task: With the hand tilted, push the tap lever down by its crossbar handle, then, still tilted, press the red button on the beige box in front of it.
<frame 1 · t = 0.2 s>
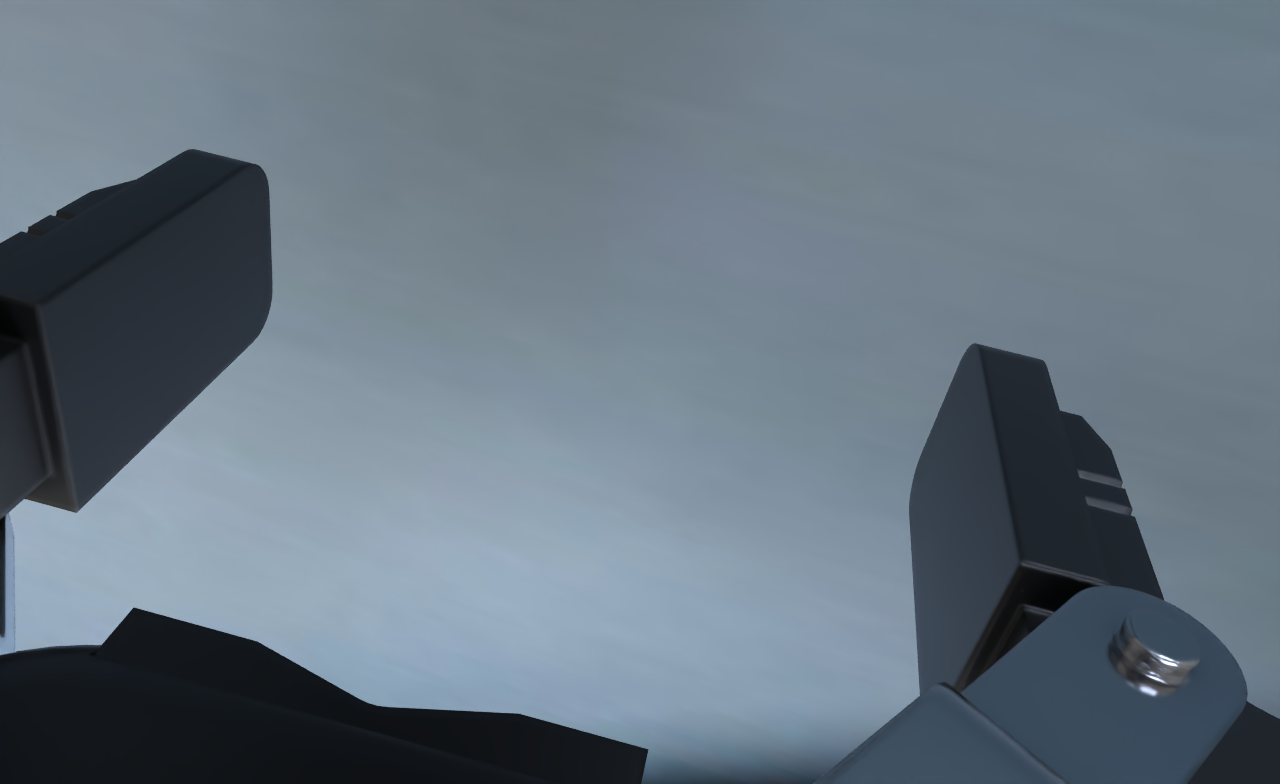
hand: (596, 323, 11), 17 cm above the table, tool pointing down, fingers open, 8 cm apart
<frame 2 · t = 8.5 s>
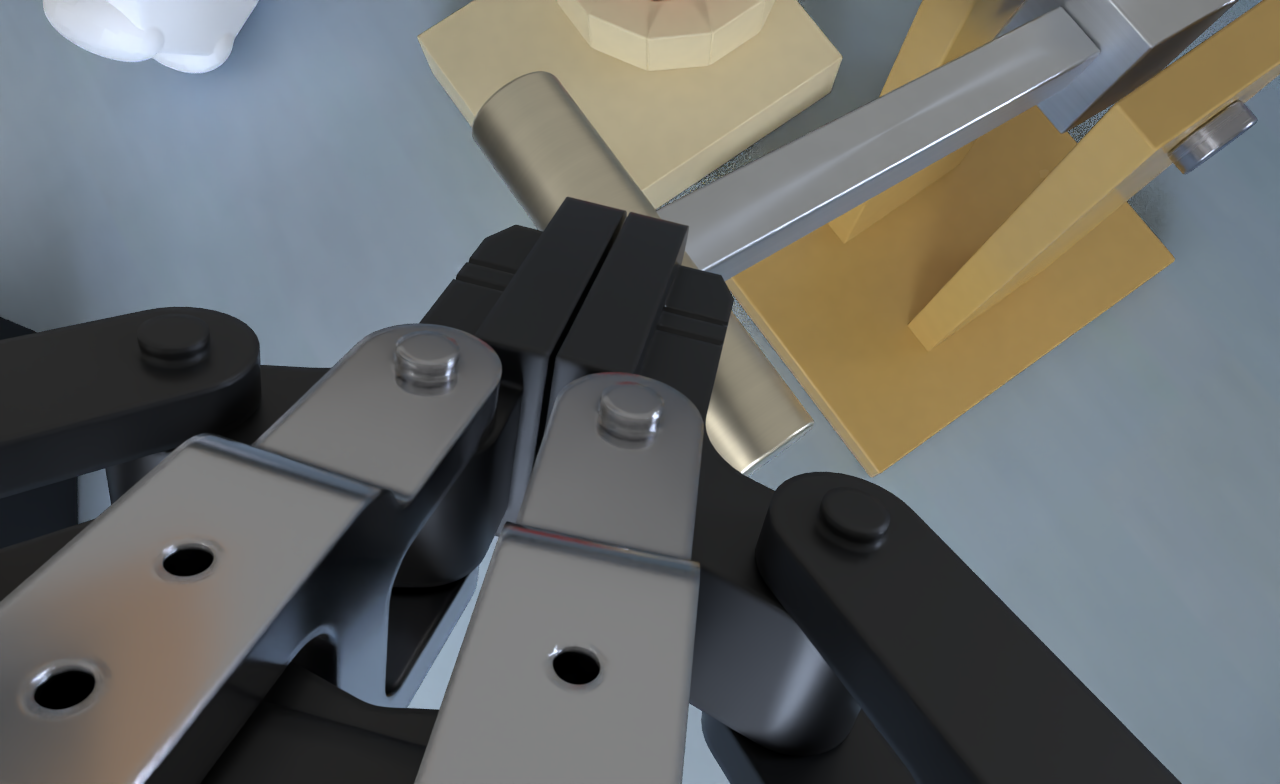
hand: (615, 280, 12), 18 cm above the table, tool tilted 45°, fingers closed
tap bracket: (923, 256, 31), on the table
tap lever: (922, 122, 16), point 15 cm above the table, hinge at 20.0°, touching gripper
button box: (630, 82, 32), on the table
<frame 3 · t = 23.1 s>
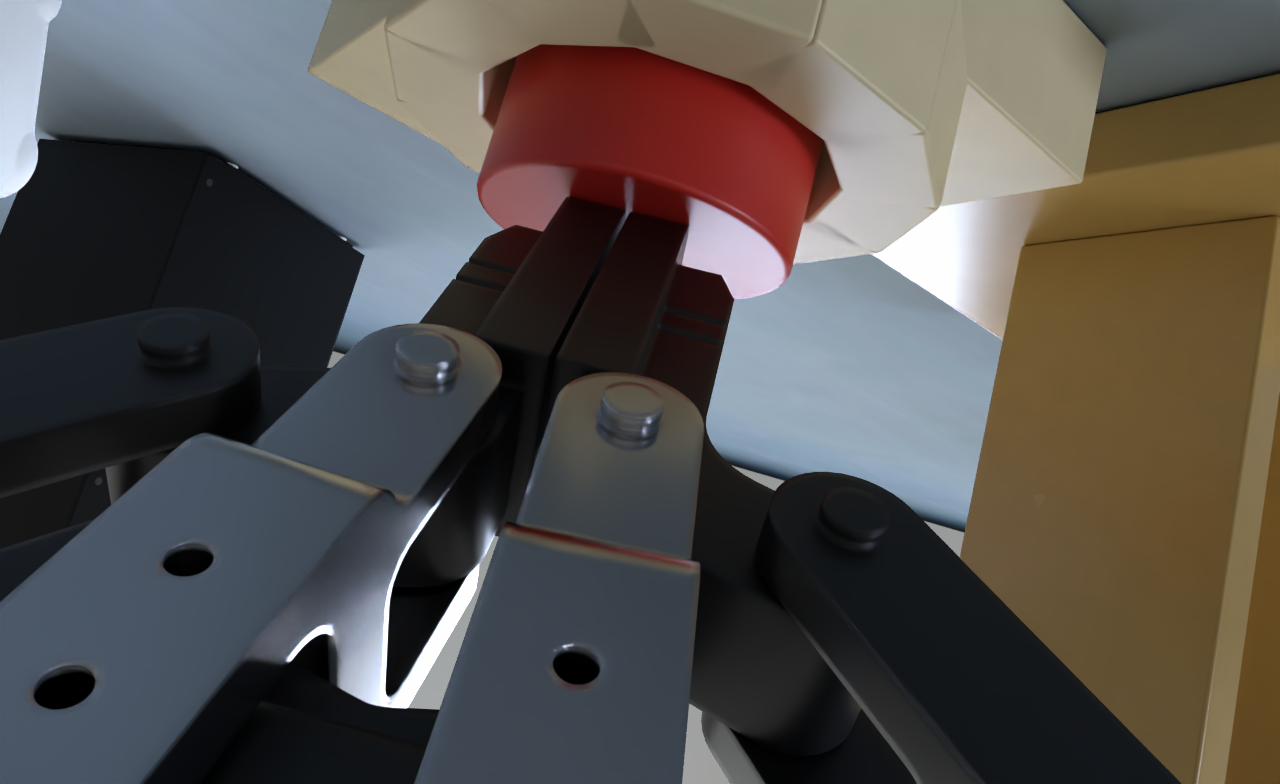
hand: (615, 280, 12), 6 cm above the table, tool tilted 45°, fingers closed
tissue box: (214, 190, 35), on the table
button: (652, 166, 13), point 4 cm above the table, slide at -0.3 cm, touching gripper
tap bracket: (1207, 227, 19), on the table
button box: (689, 1, 16), on the table
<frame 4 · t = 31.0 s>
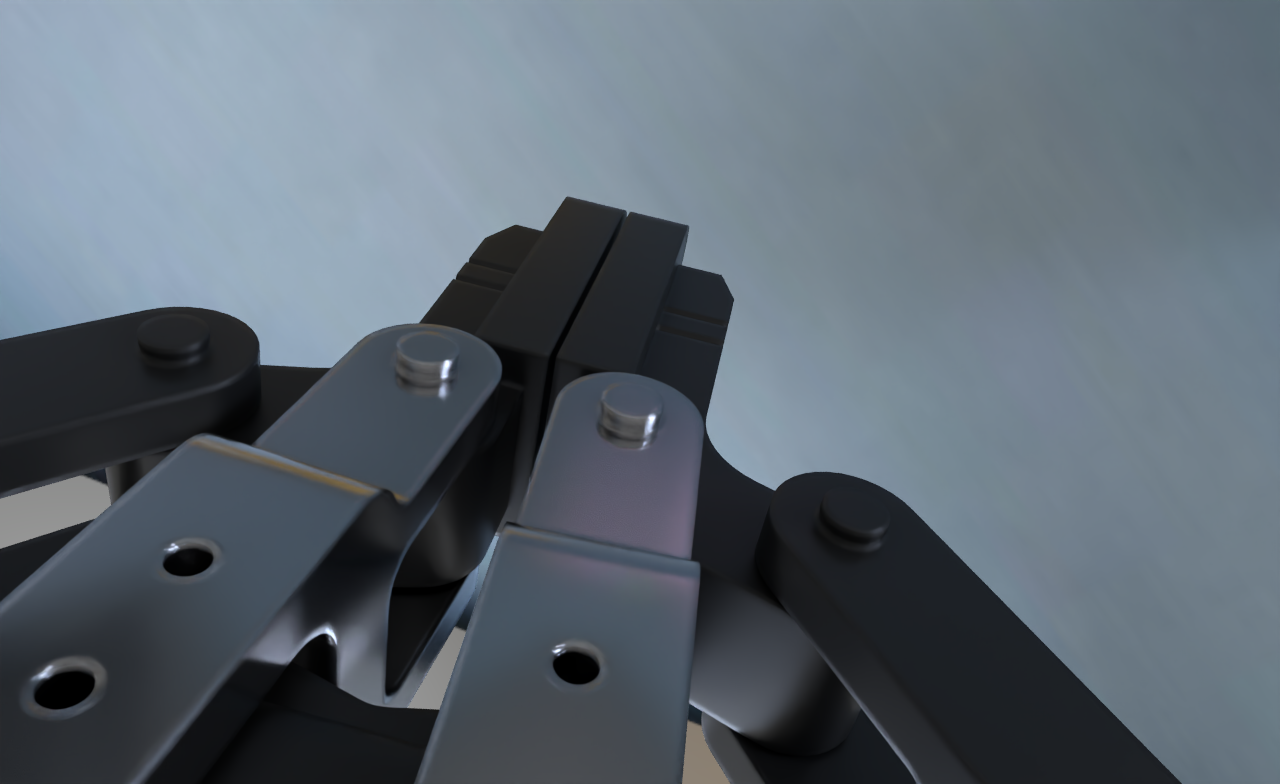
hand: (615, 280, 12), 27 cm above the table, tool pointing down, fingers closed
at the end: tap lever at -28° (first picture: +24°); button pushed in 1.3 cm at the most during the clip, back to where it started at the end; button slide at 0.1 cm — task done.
